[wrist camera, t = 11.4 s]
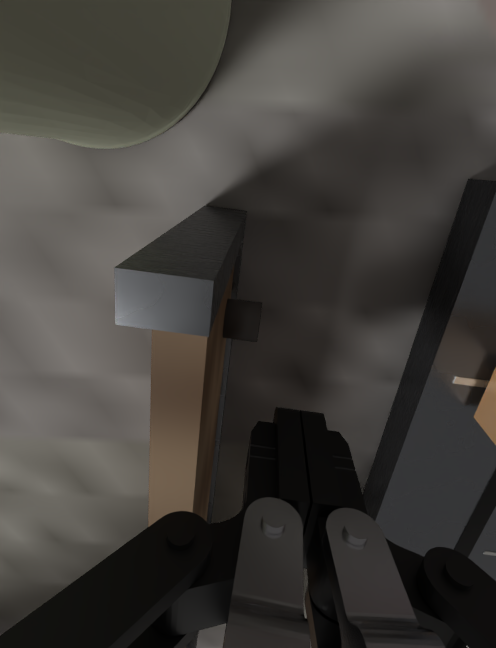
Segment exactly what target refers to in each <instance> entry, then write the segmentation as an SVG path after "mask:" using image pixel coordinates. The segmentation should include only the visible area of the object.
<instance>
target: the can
mask: <svg viewBox="0 0 496 648" xmlns="http://www.w3.org/2000/svg"><path fill="white" fill-rule="evenodd" d="M231 2H232V0H0V133H8V134H17V135H26V136H35V137H44V138H53V139H59V140H62V141H65V142H68V143H71V144H74V145H78V146H83V147H89V148H97V149H116V148H124V147H129V146H133V145H137V144H140V143H143V142H145V141H148V140H150V139H152V138H154V137H156V136H158V135H160V134H162V133H164V132H165V131H166V130H168V129H169V128H171V127H172V126H174V125H175V124H176V123H177V122H178V121H179V120H181V119H182V118H183V117H184V116H185V115H186V114H187V113H188V112H189V111H190V109H191V108H192V107H193V106H194V105H195V104H196V102H197V101H198V99H199V98H200V97H201V95H202V94H203V92H204V91H205V89H206V88H207V86H208V84H209V82H210V80H211V78H212V76H213V74H214V72H215V70H216V67H217V65H218V63H219V60H220V57H221V54H222V51H223V48H224V44H225V40H226V37H227V31H228V26H229V21H230V13H231Z"/></svg>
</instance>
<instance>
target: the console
mask: <svg viewBox="0 0 496 648" xmlns="http://www.w3.org/2000/svg"><path fill="white" fill-rule="evenodd" d="M495 367H496V181H486V180H475V179H468V181H467V184H466V187H465V190H464V193H463V196H462V199H461V202H460V205H459V208H458V211H457V214H456V217H455V220H454V223H453V226H452V229H451V232H450V235H449V238H448V241H447V244H446V247H445V250H444V253H443V256H442V259H441V262H440V265H439V268H438V271H437V274H436V277H435V280H434V283H433V286H432V289H431V292H430V295H429V298H428V301H427V304H426V307H425V310H424V313H423V316H422V319H421V322H420V325H419V328H418V331H417V334H416V337H415V340H414V343H413V346H412V349H411V352H410V355H409V358H408V361H407V364H406V367H405V370H404V373H403V376H402V379H401V382H400V385H399V388H398V391H397V394H396V397H395V400H394V403H393V406H392V409H391V412H390V415H389V418H388V421H387V424H386V427H385V430H384V433H383V436H382V439H381V442H380V445H379V448H378V451H377V454H376V457H375V460H374V463H373V466H372V469H371V472H370V475H369V478H368V481H367V484H366V487H365V490H364V493H363V499H364V503H365V507H366V510H367V514H368V516H370V517H371V518H372V519H373V520H374V521H375V522H376V523H377V524H378V525H379V526H380V528H381V530H382V531H383V533H384V536H385V538H387V539H388V540H389V541H391V542H393V543H394V544H396V545H398V546H400V547H403V548H405V549H407V550H410V551H412V552H414V553H417V554H419V555H421V556H425V554H426V553H427V551H428V550H430V549H431V548H435V547H446V548H450V549H453V550H456V551H458V552H460V553H462V554H463V555H465V556H466V557H468V558H469V559H470V560H472V561H473V562H474V563H475V564H476V565H478V566H479V567H480V568H481V569H482V570H483V571H485V572H486V573H487V574H488V575H489V576H491V577H492V578H493V579H494V580H495V581H496V445H495V444H494V442H493V441H492V440H491V439H490V437H489V436H488V435H487V434H486V432H485V431H484V430H483V429H482V427H481V426H480V425H479V423H478V422H477V421H476V420H475V418H474V415H475V412H476V410H477V408H478V406H479V403H480V401H481V399H482V397H483V394H484V392H485V390H486V388H487V385H488V383H489V381H490V379H491V376H492V374H493V372H494V370H495Z"/></svg>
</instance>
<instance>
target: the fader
mask: <svg viewBox="0 0 496 648" xmlns="http://www.w3.org/2000/svg"><path fill="white" fill-rule="evenodd" d="M474 418H475V420H476V421H477V422H478V423H479V425H480V426H481V427H482V429H483V430H484V431H485V432H486V434H487V435H488V436H489V437H490V439H491V440H492V441H493V442H494V444H495V445H496V367H495V370H494V372H493V374H492V376H491V379H490V381H489V383H488V385H487V388H486V390H485V392H484V394H483V397H482V399H481V401H480V403H479V406H478V408H477V410H476V412H475V415H474Z"/></svg>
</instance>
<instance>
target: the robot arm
mask: <svg viewBox="0 0 496 648" xmlns="http://www.w3.org/2000/svg"><path fill="white" fill-rule="evenodd" d="M303 568H306V569H307V574H308V586H307V589H306V592H305V607H306V614H307V619H306V618H305V617H304V610H303ZM224 623H227V624H226V630H225V636H224V642H223V648H310V641H311V648H467V647H466V646H468V647H469V648H496V581H495V580H494V579H493V578H492V577H491V576H489V575H488V574H487V573H486V572H485V571H483V570H482V569H481V568H480V567H479V566H478V565H476V564H475V563H474V562H473V561H472V560H470V559H469V558H468V557H466V556H465V555H463V554H462V553H460V552H458V551H456V550H453V549H450V548H446V547H435V548H431V549H430V550H428V551H427V553H426V554H425V556H421V555H419V554H417V553H414V552H412V551H410V550H407V549H405V548H403V547H400V546H398V545H396V544H394V543H393V542H391V541H389V540H388V539H387V538H385V536H384V533H383V531H382V530H381V528H380V526H379V525H378V524H377V523H376V522H375V521H374V520H373V519H372V518H371V517H370V516H368V514H367V510H366V507H365V503H364V499H363V496H362V492H361V489H360V485H359V481H358V478H357V474H356V471H355V467H354V463H353V460H352V456H351V452H350V449H349V445H348V443H347V442H346V441H345V439H344V438H343V437H342V436H341V434H340V433H339V432H336V431H329V430H327V427H326V422H325V418H324V414H323V413H316V412H309V411H301V410H300V411H299V410H293V409H286V408H278V407H276V409H275V414H274V419H273V423H269V422H262V421H258V423H257V424H256V426H255V427H254V428H253V430H252V431H251V437H250V443H249V449H248V456H247V462H246V468H245V482H244V494H243V506H242V510H241V511H240V513H239V514H237V515H236V516H235V517H233V518H231V519H229V520H227V521H223V522H219V523H214V524H208V523H207V522H206V521H205V520H204V519H203V518H202V517H201V516H199V515H197V514H195V513H192V512H188V511H176V512H172V513H169V514H167V515H165V516H163V517H162V518H160V519H159V520H157V521H156V522H155V523H153V524H152V525H151V526H149V527H148V528H147V529H145V530H144V531H142V532H141V533H140V534H138V535H137V536H136V537H134V538H133V539H132V540H130V541H129V542H127V543H126V544H125V545H123V546H122V547H121V548H119V549H118V550H117V551H115V552H114V553H112V554H111V555H110V556H108V557H107V558H106V559H104V560H103V561H102V562H100V563H99V564H98V565H96V566H95V567H93V568H92V569H91V570H89V571H88V572H87V573H85V574H84V575H83V576H81V577H80V578H78V579H77V580H76V581H74V582H73V583H72V584H70V585H69V586H68V587H66V588H65V589H63V590H62V591H61V592H59V593H58V594H57V595H55V596H54V597H53V598H51V599H50V600H48V601H47V602H46V603H44V604H43V605H42V606H40V607H39V608H38V609H36V610H35V611H34V612H32V613H31V614H29V615H28V616H27V617H25V618H24V619H23V620H21V621H20V622H19V623H17V624H16V625H14V626H13V627H12V628H10V629H9V630H8V631H6V632H5V633H4V634H2V635H1V636H0V648H185V647H186V646H187V644H188V643H189V642H190V641H191V640H192V639H193V638H194V637H195V635H196V634H197V632H198V631H199V630H202V629H206V628H209V627H213V626H217V625H221V624H224Z"/></svg>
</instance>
